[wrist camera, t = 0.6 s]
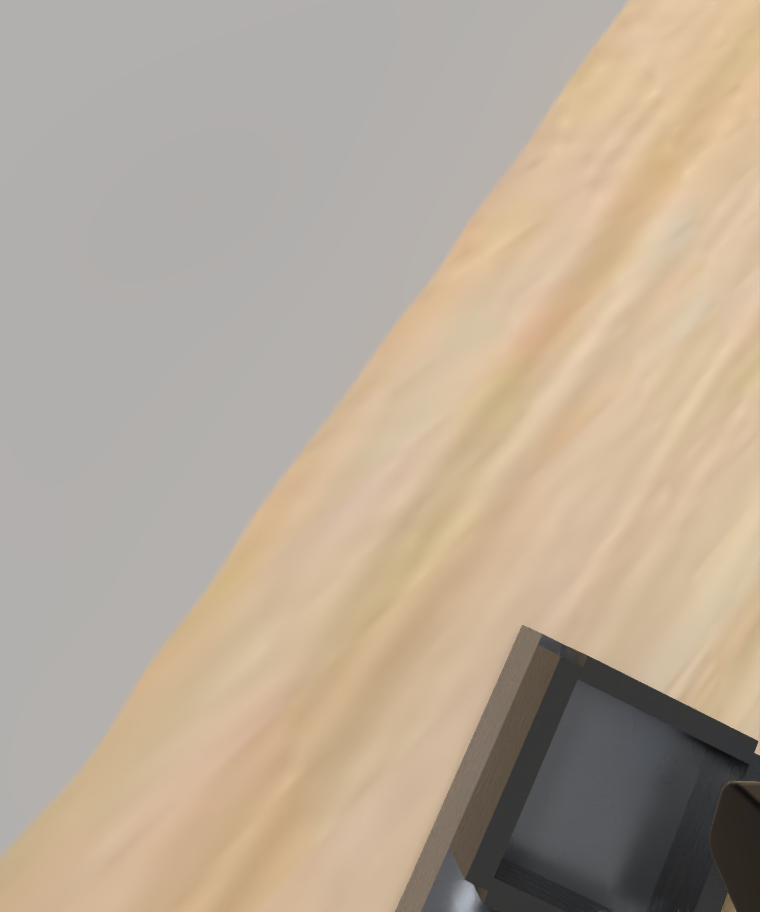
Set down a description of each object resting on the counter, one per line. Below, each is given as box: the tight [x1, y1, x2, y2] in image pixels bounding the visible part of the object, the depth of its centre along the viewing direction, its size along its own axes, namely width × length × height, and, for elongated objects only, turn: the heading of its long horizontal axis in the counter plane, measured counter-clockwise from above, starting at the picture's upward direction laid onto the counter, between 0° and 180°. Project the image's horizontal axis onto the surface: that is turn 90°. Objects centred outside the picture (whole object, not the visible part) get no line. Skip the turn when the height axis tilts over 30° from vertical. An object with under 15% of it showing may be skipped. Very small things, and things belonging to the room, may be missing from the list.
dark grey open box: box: [396, 625, 760, 912], centre depth 21 cm, size 15×8×6 cm, turn 154°
